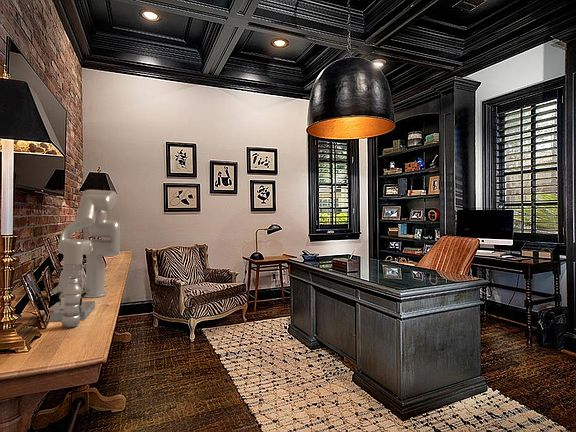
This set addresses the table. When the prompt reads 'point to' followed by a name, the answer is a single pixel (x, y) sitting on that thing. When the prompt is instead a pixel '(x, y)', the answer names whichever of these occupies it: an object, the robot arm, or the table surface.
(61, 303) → the plug
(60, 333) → the table surface
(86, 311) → the socket
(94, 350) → the table surface
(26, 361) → the table surface
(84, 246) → the robot arm
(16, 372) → the table surface
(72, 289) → the plastic bottle
